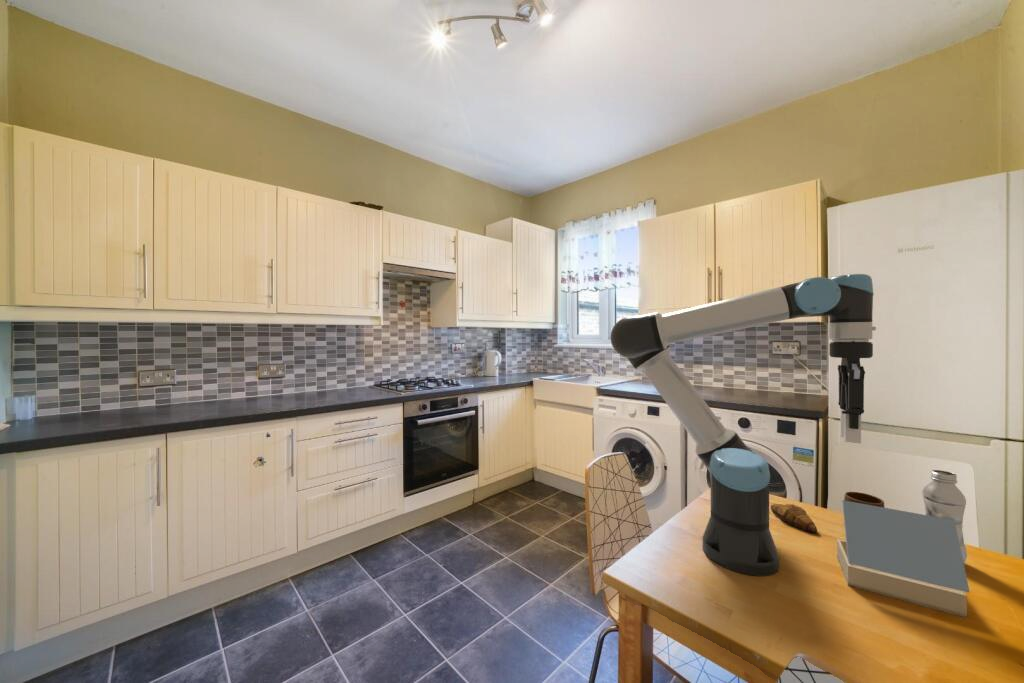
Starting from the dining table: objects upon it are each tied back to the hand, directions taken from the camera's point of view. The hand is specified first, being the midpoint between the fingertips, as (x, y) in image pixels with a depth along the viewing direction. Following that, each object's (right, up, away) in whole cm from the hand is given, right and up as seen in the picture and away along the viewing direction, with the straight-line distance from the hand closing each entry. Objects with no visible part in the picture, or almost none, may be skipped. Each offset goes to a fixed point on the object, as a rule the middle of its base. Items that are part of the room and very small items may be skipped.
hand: (850, 439), depth 86 cm
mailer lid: (-3, -17, -14) cm, 22 cm away
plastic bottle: (+18, -27, -3) cm, 33 cm away
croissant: (-2, -27, +15) cm, 31 cm away
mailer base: (-1, -27, -11) cm, 29 cm away
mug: (+11, -27, +6) cm, 30 cm away
